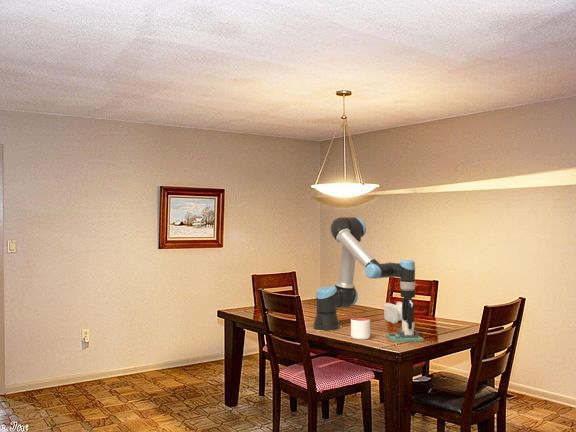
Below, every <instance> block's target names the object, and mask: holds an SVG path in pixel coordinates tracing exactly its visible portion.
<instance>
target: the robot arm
mask: <svg viewBox="0 0 576 432" xmlns="http://www.w3.org/2000/svg"><path fill="white" fill-rule="evenodd" d="M366 232H367V226H366V223H365V222H364V220H363V219H362V218H359V217H356V216H355V217H354V216H353V217H352V216H351V217H350V216H349V217H345V216H344V217H341V216H340V217H338V218H335V219H334V220H333V221H332V223H331V224H330V233H331V235H332V237H333V238H334V240H336V242H337V243H341V244H342V248H341V249H342V250H341V255H340V256H341V257H340V265H339V273H338V280H337V282H336V283H334V284H335V285H334V286H332V285H331V286H330V285H329V286H322V287H319V288H317V290H316V295H315V297H316V298H315V299H316V301H315V302H316V309H315V310H316V315H315V318H314V321H313V329H316V330H322V331H333V330H335V331H336V330H338V329H340V321H339V318H338V314H337V309H343V308H345V309H346V308H350V307H352V306H355V304H356V303H357V301H358V298H359V294H358V291H357V289H356V285H355V284H354V276H355V267H356V261H357V262H358V263H359V264H360V265H361V266H362V267H363V268H364V271H365V275H366V277H367V278H369V279H375V280H376V279H383V278H400V279H399V282H400V286H399V287H400V297H401V298H403V299H401V302H402V319H403V320H407V322H406V323H407V335H412V322H415V303H414V302H413V298H415V297H416V264H415V261H414V260H413V259H401V260H400V263H399V262H398V263H396V262H392V261H391V262H390V261H389V262H384V263H380V262H379V261H378V260H377V259H376V258H375V257H374V256H373V255H372V254H371V253H370V252H369V251H368V249H366V248H365V247H364V245H363V244H362V243H361V239H362V237H364V235H366Z"/></svg>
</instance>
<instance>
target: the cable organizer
mask: <svg viewBox="0 0 576 432" xmlns="http://www.w3.org/2000/svg"><path fill="white" fill-rule="evenodd" d="M383 307H384V309H383V311H384V312H383V314H384V316H383V318H384V320H385V322H388V323H391V324H393V325H396V324H398V322H402V321H404V320H403V319H402V301H396V303H395V304H393V303H391V302H385V303H384V306H383Z"/></svg>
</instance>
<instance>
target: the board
mask: <svg viewBox="0 0 576 432" xmlns="http://www.w3.org/2000/svg"><path fill="white" fill-rule="evenodd" d="M385 337H386V338H387V339H389V340H390V341H391V342H393V343H402V342H403V343H404V342H405V343H406V342H407V343H408V342H410V343H411V342H424V341H425V339H424V338H423V337H421V336H419V331H417V330H416V329H414V335H411V336H404V332H403V331H402V329H400V328H399V329H397V332H395V333H393V332H392V333H391V332H390V333H385Z"/></svg>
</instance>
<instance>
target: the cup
mask: <svg viewBox="0 0 576 432" xmlns="http://www.w3.org/2000/svg"><path fill="white" fill-rule="evenodd" d="M350 337H351V338H352V339H353V340H358V341H360V340H361V341H362V340H363V341H364V340H368V339H370V338H371V319H370V318H367V317H353V318H350Z"/></svg>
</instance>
